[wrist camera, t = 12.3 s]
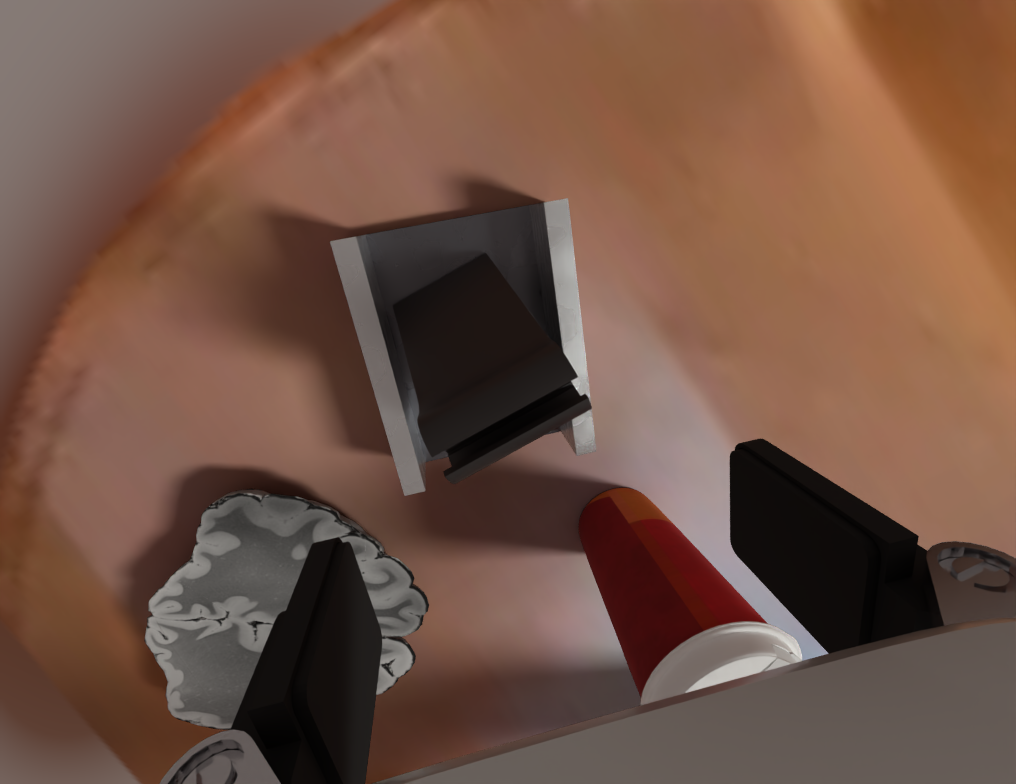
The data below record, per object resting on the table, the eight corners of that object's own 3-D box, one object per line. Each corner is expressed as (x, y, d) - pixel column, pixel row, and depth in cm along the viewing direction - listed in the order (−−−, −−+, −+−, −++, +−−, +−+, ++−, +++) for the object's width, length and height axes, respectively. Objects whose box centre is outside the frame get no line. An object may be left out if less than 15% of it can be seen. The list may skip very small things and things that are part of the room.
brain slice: (393, 701, 38) (390, 738, 35) (159, 686, 34) (136, 727, 31) (455, 497, 33) (458, 523, 30) (186, 450, 29) (160, 474, 26)
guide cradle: (545, 202, 27) (567, 198, 23) (573, 421, 32) (596, 451, 28) (345, 238, 26) (329, 241, 21) (407, 458, 31) (404, 495, 27)
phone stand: (392, 303, 26) (366, 362, 15) (486, 251, 26) (529, 273, 15) (469, 428, 30) (495, 552, 18) (552, 383, 29) (629, 481, 18)
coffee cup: (580, 581, 37) (674, 800, 23) (548, 499, 34) (634, 695, 20) (678, 540, 37) (830, 733, 23) (656, 456, 34) (816, 619, 20)
